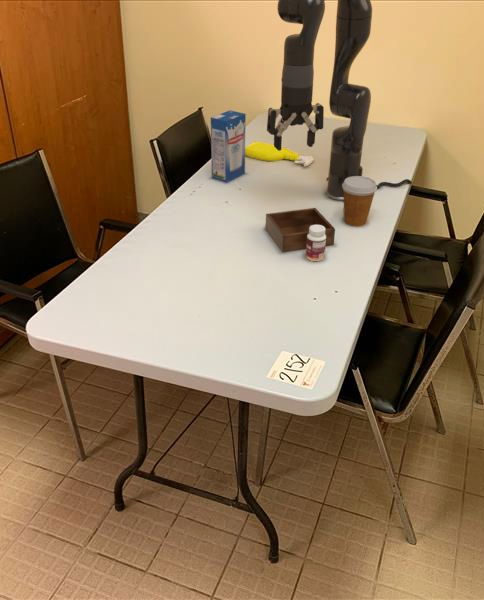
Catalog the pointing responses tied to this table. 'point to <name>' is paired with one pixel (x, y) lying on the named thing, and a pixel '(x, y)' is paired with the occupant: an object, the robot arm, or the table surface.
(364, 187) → the disposable coffee cup
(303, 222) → the wooden box
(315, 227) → the pill bottle
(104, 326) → the table surface
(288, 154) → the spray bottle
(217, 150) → the milk carton
